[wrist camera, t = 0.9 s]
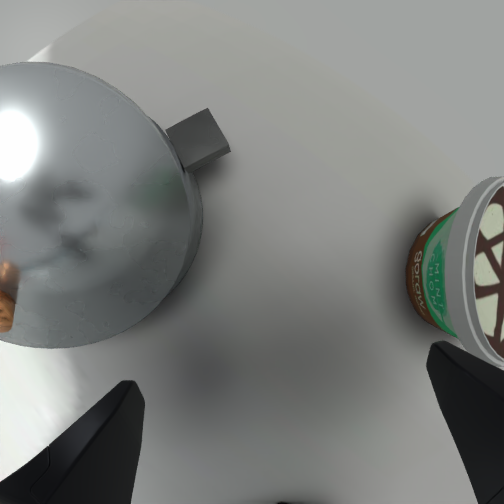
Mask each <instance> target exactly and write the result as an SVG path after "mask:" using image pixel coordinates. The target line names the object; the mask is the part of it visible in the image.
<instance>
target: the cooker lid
mask: <svg viewBox="0 0 504 504" xmlns="http://www.w3.org/2000/svg"><path fill="white" fill-rule="evenodd" d="M189 232H190V225H189V208H188V202H187V196H186V191H185V188H184V185H183V182H182V179H181V176H180V173H179V170H178V167H177V164H176V161H175V159H174V157H173V155H172V153H171V150H170V148H169V146H168V144H167V142H166V140H165V139H164V138H163V136H162V135H161V133H160V132H159V130H158V129H157V127H156V126H155V124H154V123H153V122H152V120H151V119H150V118H149V117H148V116H147V115H146V114H145V113H144V112H143V111H142V110H141V109H140V107H139V106H138V105H137V104H136V103H135V102H133V101H132V100H131V99H130V98H128V97H127V96H126V95H125V94H123V93H122V92H121V91H120V90H118V89H117V88H115V87H114V86H112V85H110V84H109V83H107V82H105V81H103V80H102V79H100V78H98V77H96V76H94V75H92V74H89V73H86V72H84V71H81V70H78V69H76V68H73V67H69V66H64V65H59V64H54V63H49V62H20V63H14V64H7V65H2V66H0V340H1V341H4V342H8V343H12V344H16V345H20V346H27V347H33V348H48V349H53V348H70V347H77V346H83V345H87V344H92V343H95V342H99V341H102V340H105V339H108V338H110V337H112V336H115V335H117V334H119V333H121V332H123V331H125V330H127V329H128V328H130V327H132V326H133V325H135V324H136V323H138V322H139V321H140V320H142V319H143V318H145V317H146V316H147V315H148V314H149V313H150V312H151V311H152V310H154V309H155V308H156V307H157V306H158V305H159V303H160V302H161V301H162V300H163V299H164V297H165V296H166V295H167V294H168V292H169V291H170V289H171V287H172V286H173V284H174V283H175V281H176V279H177V277H178V275H179V272H180V270H181V268H182V266H183V262H184V259H185V255H186V252H187V248H188V240H189Z"/></svg>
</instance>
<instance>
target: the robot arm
mask: <svg viewBox="0 0 504 504" xmlns="http://www.w3.org/2000/svg"><path fill="white" fill-rule="evenodd" d="M426 367H427V371H428V374H429V377H430V380H431V383H432V386H433V389H434V392H435V395H436V398H437V401H438V404H439V406H440V409H441V411H442V414H443V416H444V418H445V420H446V423H447V425H448V427H449V429H450V432H451V434H452V436H453V439H454V441H455V444H456V446H457V448H458V451H459V453H460V456H461V458H462V461H463V463H464V466H465V469H466V471H467V474H468V476H469V479H470V482H471V485H472V487H473V490H474V493H475V496H476V499H477V502H478V504H504V371H503V370H502V369H500V368H498V367H496V366H494V365H492V364H490V363H488V362H486V361H484V360H482V359H480V358H478V357H476V356H474V355H472V354H470V353H468V352H466V351H464V350H462V349H460V348H458V347H456V346H454V345H452V344H450V343H448V342H446V341H444V340H442V341H438V342H434V343H432V345H431V347H430V351H429V355H428V359H427V363H426ZM144 409H145V401H144V398H143V396H142V394H141V392H140V389H139V387H138V385H137V383H136V382H135V381H132V380H124V381H121V382H120V383H119V384H117V385H116V386H115V387H114V388H113V389H112V390H111V391H110V392H108V393H107V394H106V395H105V396H104V397H103V398H102V399H101V400H99V401H98V402H97V403H96V404H95V405H94V406H93V407H91V408H90V409H89V410H88V411H87V412H86V413H85V414H84V415H82V416H81V417H80V418H79V419H78V420H77V421H76V422H74V423H73V424H72V425H71V426H70V427H69V428H68V429H66V430H65V431H64V432H63V433H62V434H61V435H60V436H58V437H57V438H56V439H55V440H54V441H53V442H52V443H50V444H49V446H47V447H46V448H45V449H43V450H42V451H41V452H40V453H39V454H38V455H36V456H35V457H34V458H33V459H32V460H30V461H29V462H28V463H26V464H25V465H24V466H22V467H21V468H20V469H18V470H17V471H15V472H14V473H12V474H11V475H10V476H8V477H7V478H5V479H4V480H2V481H1V482H0V504H131V498H132V493H133V487H134V482H135V476H136V471H137V466H138V460H139V455H140V450H141V443H142V431H143V420H144ZM278 504H287V503H282V502H281V503H278Z"/></svg>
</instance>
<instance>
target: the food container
mask: <svg viewBox="0 0 504 504" xmlns="http://www.w3.org/2000/svg"><path fill="white" fill-rule="evenodd" d="M503 184H504V177H490V178H488V179H486V180H484V181H482V182H480V183H479V184H478V185H476V186H475V187H474V188H473V189H472V190H471V191H470V192H469V194H468V195H467V196H466V197H465V199H464V200H463V202H462V204H461V206H460V207H458V208H456V209H455V210H453V211H451V212H449V213H448V214H446V215H444V216H442V217H440V218H439V219H437V220H435V221H433V222H431V223H430V224H429V225H428V226H427V227H426V228H425V229H424V230H423V231H422V232H421V233H420V234H418V236H417V238H416V240H415V242H414V244H413V245H412V247H411V249H410V252H409V256H408V261H407V265H406V286H407V292H408V295H409V298H410V301H411V303H412V305H413V307H414V309H415V310H416V311H417V313H418V314H419V315H420V316H421V317H422V318H423V319H424V320H425V321H427V322H428V323H430V324H431V325H433V326H435V327H437V328H439V329H441V330H443V331H445V332H447V333H449V334H451V335H452V336H454V337H456V338H458V339H459V340H460V342H461V343H462V345H463V346H464V348H465V349H466V350H467V351H468V352H469V353H470V354H472V355H474V356H476V357H478V358H480V359H482V360H484V361H486V362H488V363H490V364H492V365H494V366H498V367H504V187H503V186H502V185H503Z"/></svg>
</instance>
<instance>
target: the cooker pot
mask: <svg viewBox="0 0 504 504" xmlns="http://www.w3.org/2000/svg"><path fill="white" fill-rule="evenodd" d="M149 118H150V117H149ZM150 119H151V118H150ZM151 120H152V119H151ZM152 122H153V123H154V124H155V126H156V127H157V129H158V130H159V132H160V133H161V135H162V136H163V138H164V139H165V140H166V142H167V144H168V146H169V148H170V150H171V153H172V155H173V157H174V159H175V161H176V164H177V167H178V170H179V173H180V176H181V179H182V182H183V185H184V188H185V191H186V196H187V202H188V208H189V225H190V232H189V240H188V248H187V252H186V255H185V259H184V262H183V266H182V268H181V270H180V272H179V275H178V277H177V279H176V281H175V283H174V284H173V286H172V287H171V289H170V291H169V292H168V294H169V293H170V292H171V291H172V290H173V289H174V288H175V287H176V286H177V285H178V284H179V283H180V281H181V280H182V279H183V277H184V276H185V274H186V273H187V271H188V269H189V268H190V266H191V264H192V262H193V260H194V257H195V255H196V252H197V249H198V246H199V242H200V238H201V232H202V224H203V208H202V200H201V195H200V191H199V188H198V184H197V182H196V180H195V177H194V175H193V173H192V172H193V171H195V170H196V169H198V168H200V167H202V166H204V165H206V164H208V163H210V162H212V161H213V160H215V159H217V158H219V157H221V156H223V155H225V154H227V153H229V152H231V151H230V147H229V144H228V142H227V140H226V139H225V137H224V135H223V133H222V132H221V130H220V128H219V126H218V125H217V123H216V121H215V119H214V118H213V116H212V114H211V113H210V111H209V109H208V108H206V109H204V110H202V111H200V112H198V113H196V114H195V115H193V116H191V117H189V118H187V119H185V120H183V121H181V122H179V123H177V124H176V125H174V126H172V127H170V128H168V129H166V132H167V134H168V137H169V138H168V137H167V135H166V134H165V133H164V132H163V130H162V129H161V128H160V127H159V126H158V124H156V123H155V122H154V121H153V120H152ZM169 139H170V140H169ZM168 294H167V295H168ZM167 295H166V296H167ZM166 296H165V297H166Z"/></svg>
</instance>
